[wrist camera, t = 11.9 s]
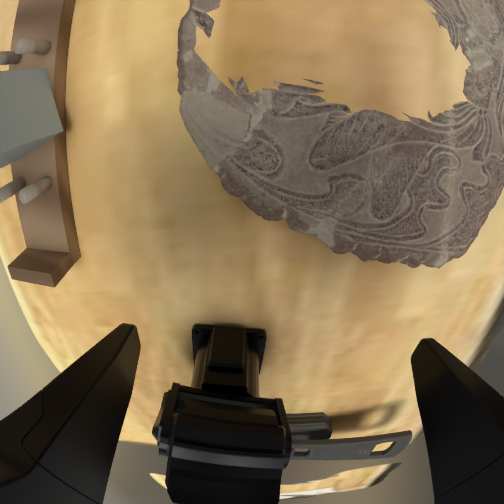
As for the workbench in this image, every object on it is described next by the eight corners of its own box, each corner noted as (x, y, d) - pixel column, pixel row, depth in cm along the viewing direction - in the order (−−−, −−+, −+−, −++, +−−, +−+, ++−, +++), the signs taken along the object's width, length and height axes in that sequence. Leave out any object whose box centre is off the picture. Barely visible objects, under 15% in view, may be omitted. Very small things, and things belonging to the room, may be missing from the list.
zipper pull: (397, 457, 31) (224, 477, 32) (388, 422, 37) (226, 439, 38) (419, 432, 27) (212, 458, 28) (405, 393, 32) (216, 413, 33)
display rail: (80, 256, 22) (54, 287, 18) (38, 251, 22) (11, 279, 18) (82, -32, 10) (50, -49, 6) (33, -13, 10) (-1, -21, 6)
